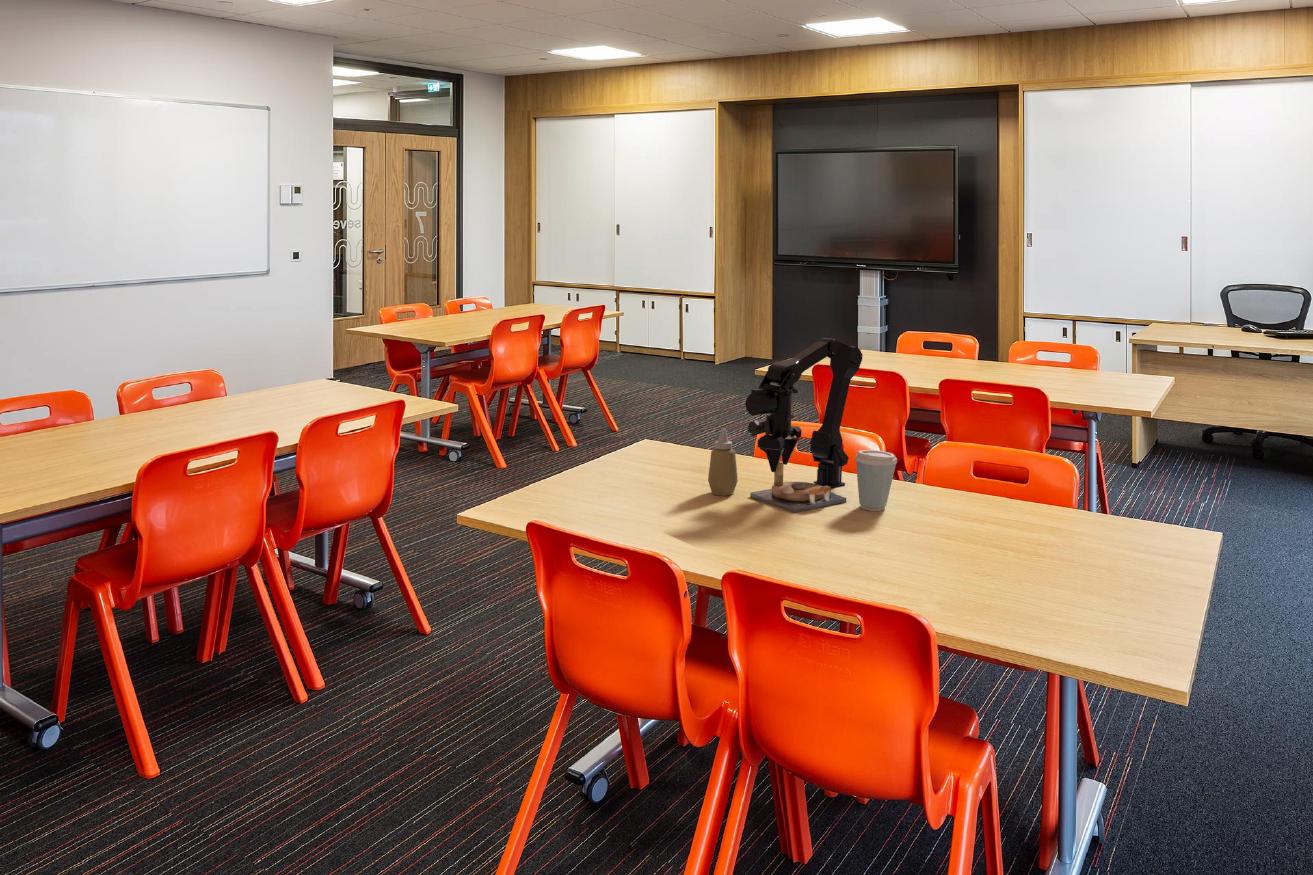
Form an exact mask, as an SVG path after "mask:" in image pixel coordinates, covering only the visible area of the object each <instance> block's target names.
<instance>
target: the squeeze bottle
mask: <svg viewBox="0 0 1313 875" xmlns="http://www.w3.org/2000/svg"><path fill="white" fill-rule="evenodd" d="M719 434H720V435H719V438H718V440H716V441H714V449H712V450H711V452H710V460H709V467H708V468H709V469H708V476H707V477H708V478H707V481H708V484H709V488H710V492H711V493H712V495H716V496H726V497H727V496H731V495H733V494H734V493H735V490H736V487H737V484H738V482H739V479H738V468H737V457H736V451H735V450H734V449H733V442H732V441H730V440H729V438H728V432H727V428H721V429H720V433H719Z"/></svg>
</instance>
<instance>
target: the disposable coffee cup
mask: <svg viewBox="0 0 1313 875" xmlns="http://www.w3.org/2000/svg"><path fill="white" fill-rule="evenodd" d="M854 460H855V465H856V466H855V467H856V468H855V469H856V477H857V490H858V504H859V506H860V508H861V509H862V510H865V511H872V512H880V511H884V510H885V508H886V507H887V503H888V499H889V495H890V491H891V487H892V482H893V478H894V473H895V469H896V465H897V463H898V458H897V457H896V454H895V455H894V453H892V452H888V451H883V450H876V449H875V450H874V449H860V450H858V451H857V454H855V457H854Z"/></svg>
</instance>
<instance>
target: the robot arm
mask: <svg viewBox="0 0 1313 875" xmlns="http://www.w3.org/2000/svg"><path fill="white" fill-rule="evenodd" d="M825 358H829V359H830V362H829V366H830V370H831V374H832V378H831V382H830V388H829V393H828V396H827V401H826V406H825V411H824V414H823V415H824V416H823V418H822V424H821V426H820V427H819V428H818V430H813V431H812V433H811V438H810V441H809V445H810V446H809V447H810V448H809V450H810V452H811V456H812V459H813V462H816V463H818V464H817V466H818V467H817V469H816V472H817V473H816V480H815V481H813V483H814V484H817V485H820V486H822V487H823V486H829V487H831V488H835V487H841V486H845V485H846V482H844V481H842V478H843V474H842V473H843V472H842V471H843V467H845V466H847V465H848V461H849V458H850V457H849V456H848V454H847V453H846V452H845V450H843V437H842V433H841V424H842V420H843V415H844V411H845V407H846V402H847V396H848V393H849V389H850V384H851V381H852V379H853V377H854V376H855V375H856V374H857V373H858V372H859V371H860V367H861V364H862V361H863V353H862V351H861V348H859V347H857V346H853V345H852V346H851V345H847V344H845V343H842V342H840V341H839V340H837V339H836V338H828V337H821V338H819V339H818V340H817V342H815V343H813V344H812V345H810V346H809V347H808V348H807V347H806V349H804V350H802V351H800V352H799V353H798V354H796V355H794V356H793V357H791V358H788V359H782V360H779V361H776V362H773V363H771V364H770V365H769V366H768V367H767V371H766V373H765V375H764V377H763V379H762V380H761V382H760V384H759V386H758V388H752V389H751V390H750V394H749V395H748V396H747V398H746V400H745V404H744V405H745V409H746V412H747V413H748V415H750V416H754V417H755V416H760V415H767V414H768V415H767V416H766V417H765V419H763V420H760V421H758V420H756V419H755V420H753V421H750V422H748V425H747V433H749V434H750V436H751V437H756V436H757V435H760V434H764V435H762V436H761V437H760V438H758V439H757V448H759V449H760V450H761V451H763V452H764V453H765V454H766V457H767V461H768V464H769V467H770V471H771V473H774V472H776V470H777V467H778V464H779V462H780V460H781V462H782V463H784V466H786V465H787V464H789V461H790V459H791V456H792V454H793V452H794V451H795V449H796V446H797V445H798V442H799V441H800V438H801V437H802V428H801V427H800V426H799V425H797V426H796V425H792V419H794V417H795V416H794V415H795V414H794V413H792V412H793V411H792V406H793V404H792V402H793V395H794V394H798V393H799V390H798V389H797V388H795V387H794V385H795V384H796V383H797V382H798V381H799V380H800V379H801V378H802V374H803V373H804V372H806V371H807V370H809V369H810V368H812V367H813V366H815V365H816V364H818V363H819V362H821V361H823V360H825Z"/></svg>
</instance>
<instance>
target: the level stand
mask: <svg viewBox="0 0 1313 875" xmlns="http://www.w3.org/2000/svg"><path fill="white" fill-rule="evenodd" d="M831 488H832V487H829V486H822V487H818V488H812V489H809V491H808V493H810V495H809V501H790V500H784V499H780V498H777V497H775V496H773V495H772V488H768V489H763V490H758V491H753V492H750V494H749V496H750V498H751V499H756V500H758V501H760V502H763V503H766V504H770V505H773V506H775V507H777V508H780V509H783V510H786V511H789V512H792V513H799V512H800V513H801V512H805V511H810V510H815V509H820V508H824V507H829V506H833V505H834V506H835V505H839V504H844V503H847V497H846V496H842V495H840V494H839V495H838V494H836V493H833V492H830V491H831ZM821 492H824V497H823V498H821V499H818V500H815V493H821Z"/></svg>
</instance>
